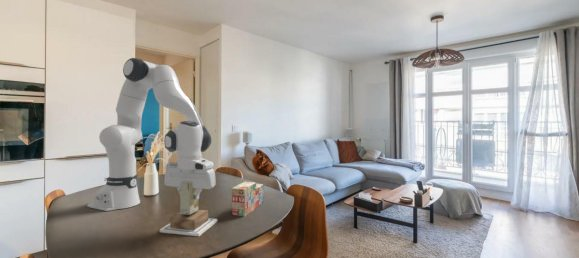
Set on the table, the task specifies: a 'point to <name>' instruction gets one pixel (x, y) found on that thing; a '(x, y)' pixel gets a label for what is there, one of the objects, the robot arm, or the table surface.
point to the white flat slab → (190, 232)
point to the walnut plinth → (189, 220)
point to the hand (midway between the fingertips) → (189, 198)
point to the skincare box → (188, 199)
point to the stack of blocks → (246, 198)
